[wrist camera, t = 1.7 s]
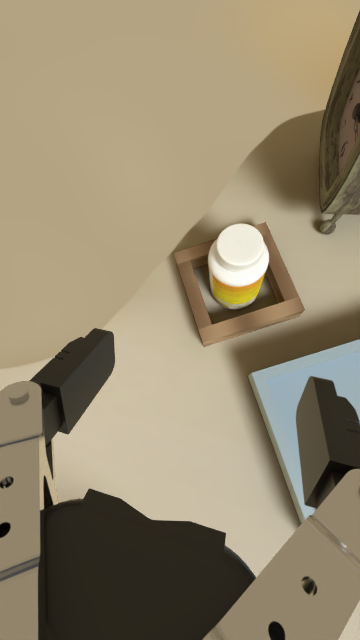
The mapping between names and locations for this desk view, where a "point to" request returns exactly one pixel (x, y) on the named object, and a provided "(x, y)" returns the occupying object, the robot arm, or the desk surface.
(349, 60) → the tabletop clock
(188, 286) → the holder
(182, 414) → the desk surface
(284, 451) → the tray
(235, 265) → the supplement bottle
